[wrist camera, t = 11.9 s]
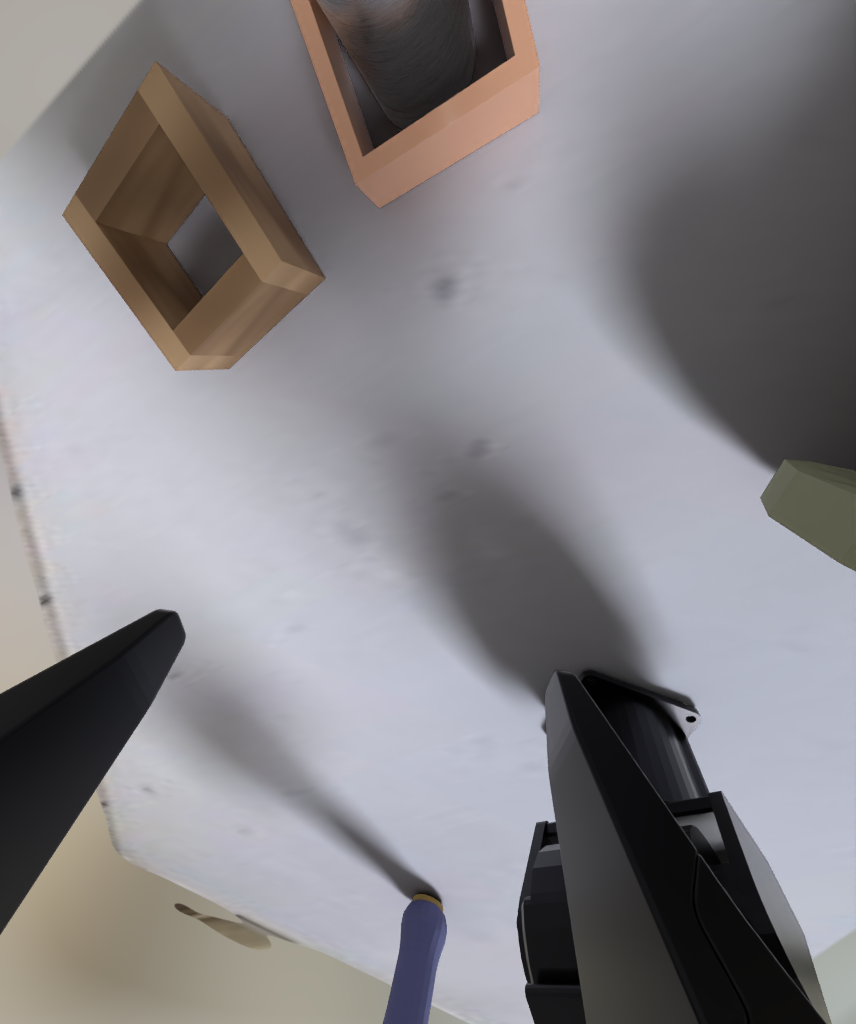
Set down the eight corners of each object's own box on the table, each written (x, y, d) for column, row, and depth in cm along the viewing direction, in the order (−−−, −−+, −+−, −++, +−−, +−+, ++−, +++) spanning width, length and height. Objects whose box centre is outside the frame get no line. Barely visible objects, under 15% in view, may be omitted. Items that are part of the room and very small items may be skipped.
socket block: (538, 112, 14) (539, 66, 12) (379, 208, 16) (355, 184, 14) (481, -136, 12) (469, -246, 10) (311, 11, 15) (271, -52, 12)
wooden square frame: (325, 278, 18) (281, 261, 15) (228, 368, 21) (175, 370, 18) (226, 117, 17) (155, 60, 14) (137, 238, 20) (62, 214, 16)
